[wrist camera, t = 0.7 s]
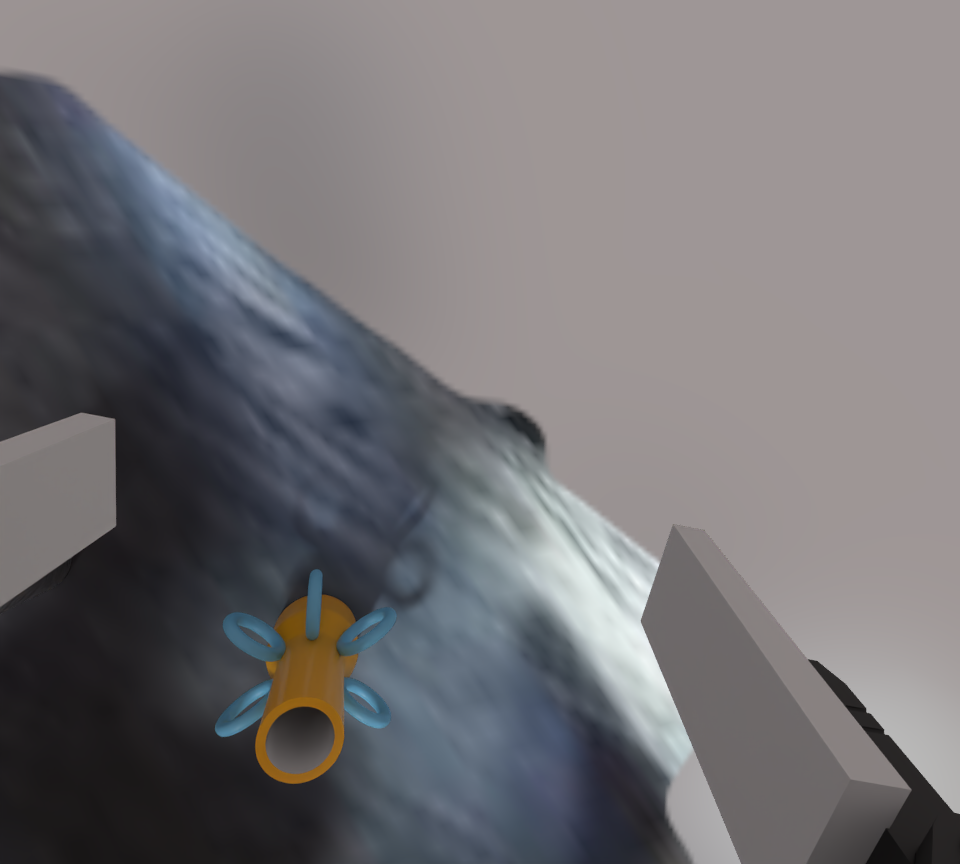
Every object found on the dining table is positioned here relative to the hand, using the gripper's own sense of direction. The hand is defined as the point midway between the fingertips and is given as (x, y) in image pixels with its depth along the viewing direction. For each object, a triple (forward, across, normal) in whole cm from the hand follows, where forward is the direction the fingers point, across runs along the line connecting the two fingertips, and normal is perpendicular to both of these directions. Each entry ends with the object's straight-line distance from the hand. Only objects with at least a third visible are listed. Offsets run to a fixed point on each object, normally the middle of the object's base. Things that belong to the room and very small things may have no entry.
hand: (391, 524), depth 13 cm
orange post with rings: (+22, +7, +22) cm, 32 cm away
